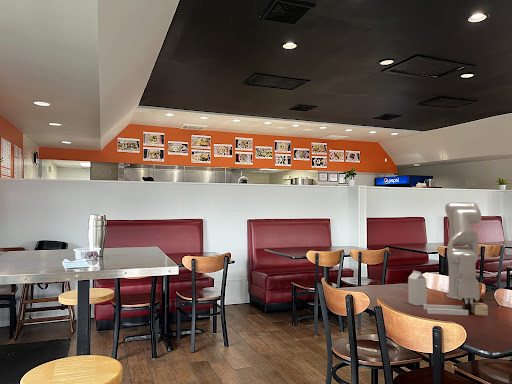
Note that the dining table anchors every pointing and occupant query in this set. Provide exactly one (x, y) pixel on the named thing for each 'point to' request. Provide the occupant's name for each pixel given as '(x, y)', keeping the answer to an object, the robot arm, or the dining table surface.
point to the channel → (445, 309)
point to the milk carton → (417, 289)
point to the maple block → (480, 309)
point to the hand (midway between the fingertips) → (468, 310)
